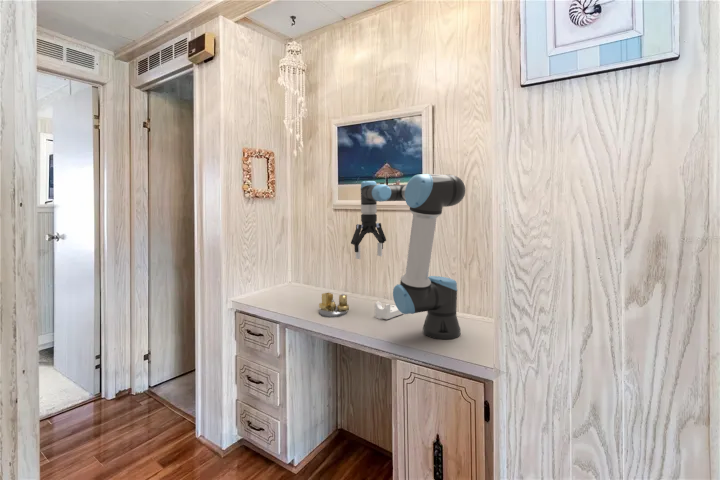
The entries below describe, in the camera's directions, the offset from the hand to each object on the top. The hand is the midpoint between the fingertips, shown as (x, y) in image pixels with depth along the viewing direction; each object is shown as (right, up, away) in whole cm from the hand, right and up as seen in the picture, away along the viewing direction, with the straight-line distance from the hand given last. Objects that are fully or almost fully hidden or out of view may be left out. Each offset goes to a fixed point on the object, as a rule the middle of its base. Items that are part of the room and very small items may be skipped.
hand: (369, 257), depth 180 cm
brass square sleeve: (-21, -25, +4) cm, 33 cm away
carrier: (-18, -27, 0) cm, 32 cm away
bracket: (+10, -28, -5) cm, 30 cm away
